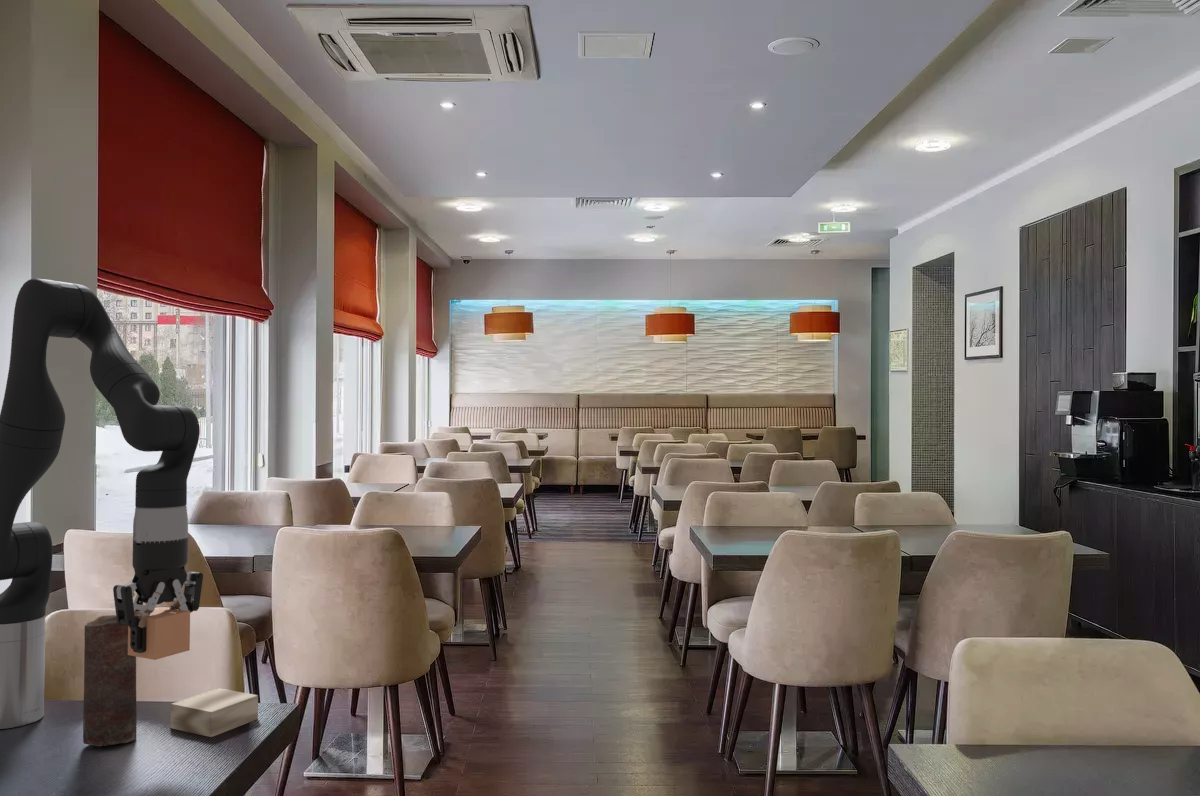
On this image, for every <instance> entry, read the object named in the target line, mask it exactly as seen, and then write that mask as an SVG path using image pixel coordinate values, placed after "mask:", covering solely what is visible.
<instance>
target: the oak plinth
mask: <svg viewBox="0 0 1200 796" xmlns="http://www.w3.org/2000/svg"><path fill="white" fill-rule="evenodd" d="M258 717H259V695H258V694H254V693H253V694H252V693H247V692H243V691H237V690H231V689H225V688H219V687H218V688H213V689H211V690H209V691H205V692H202V693H198V694H196V695H193V696H190V697H187V698H184V699H181V700H178V701H175V702H172V703H171V704H170V729H173V730H175V731H176V730H177V731H181V732H185V733H191V734H195V735H200V736H204V737H208V738H213V737H216V736H218V735H220V734H223V733H226V732H228V731H231V730H233V729H236V728H238V727H241V726H243V725H246V724H249V723H251V722H254V721H256V720H258V719H259V718H258Z"/></svg>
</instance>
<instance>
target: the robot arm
mask: <svg viewBox="0 0 1200 796" xmlns="http://www.w3.org/2000/svg"><path fill="white" fill-rule="evenodd" d="M15 300H16V301H15V305H14V311H13V320H12V333H11V343H10V344H11V346H10V347H11V348H10V356H9V357H10V358H9V367H8V374H7V379H6V384H5V390H4V396H3V399H2V405H1V409H0V581H6V580H11V582H10V585H8V587H7V588H6V589H5V590H4V591H2V592H1V593H0V730H3V729H10V728H11V729H12V728H17V727H22V726H25V725H29V724H31V723H35V722H38V721H39V720H41V719H42V718H43V717H44V715H45V711H44V710H45V672H46V671H45V668H46V667H45V664H46V662H45V661H46V655H45V654H46V609H47V608H46V607H47V604H48V601H49V599H50V594H51V579H52V567H53V556H54V555H53V554H54V553H53V540H52V536H51V534H50V531H49V529H48V528H47V527H46V526H45V525H44V524H42V523H41V522H39V521H38V522H37V521H28V522H17V523H16V522H15V518H16V515H17V512H18V510H19V507H20V505H21V504H22V501H23V500H24V498H25V497H26V496H27V494H28V493H29V492H30V491H31V490H32V488H33V487H34V486H35V485H36V484H37V482H38V481H39V480H40V479H41V478H42V477H43V476H44V475H45V474H46V472H48V470H49V468H50V467H51V466H52V465H53V464H54V462H55V460H57V457H58V456H59V453H60V449H61V446H62V440H63V434H64V430H65V424H66V412H65V409H64V406H63V404H62V401H61V398H60V396H59V394H58V392H57V391H56V389H55V387H54V383H53V382H52V380H51V378H50V375H49V372H48V367H47V349H48V344H49V343H48V342H49V338H50V337H53V338H65V339H73V338H74V339H76V340H79V342H81V343H83V344H84V346H86V347H87V348H88V349H89V350H90V351H91V358H90V363H89V371H90V372H89V373H90V377H91V380H92V382H93V384H94V386H95V388H96V389H97V390H98V391H99V393H100V394H101V395H102V396H103V398H104V399H105V400H106V401H107V403H109V405H110V406H111V407H112V408H113V410H114V413H115V416H116V419H117V423H118V425H119V428H120V431H121V435H122V436H123V438H124V440H125V442H126V443H127V444H128V445H129V446H131V447H132V448H134V449H136V450H138V451H140V452H148V453H151V452H161V453H160V457H159V460H158V462H157V463H156V464H154V465H152V466H148V467H146V468H143V469H141V470H139V471H138V472H137V474H136V477H135V499H134V500H135V509H134V516H133V520H132V521H133V524H132V563H131V564H132V568H133V570H134V574H133V578H132V580H131V582H128V583H125V584H115V585H114V586H113V588H112V591H113V600H114V609H115V615H116V618H117V623H118V624H120V625H127V626H129V627H130V646H131V649H133V651H134V652H137V653H143V652H145V651H146V635H147V627H145V625H146V623H147V618H148V617H149V616H150V614H151V613H152V612H153V611H154V609H156V606H157V605H161V604H162V603H165V604H166V606H168V608H170V609H178V610H186V611H190V614H191V613H193V612H197V611H198V610H199V609H200V603H201V594H202V588H203V581H204V574H203V573H202V572H199V571H189V570H188V571H186V568H185V566H186V565H187V564H188V551H189V550H188V545H189V517H188V516H189V515H188V508H187V507H188V506H187V505H188V504H187V503H188V502H187V496H188V493H187V492H188V491H187V490H188V489H187V488H188V477H189V474H190V471H191V467H192V464H193V460H194V457H195V454H196V451H197V446H198V444H199V440H200V432H201V429H200V428H201V427H200V422H199V419H198V416H197V415H196V413H195V412H194V410H192V409H191V408H190V407H188V406H184V405H167V404H166V405H159V404H158V402H159V401H160V398H161V397H160V395H161V394H160V388H159V387H158V385H157V384H156V382H155V381H154V380H153V379H152V378H151V376H150V375H149V374H148V372H146V370H145V369H144V368H143V367H142V366H141V364H140V363H139V362H138V361H137V360H136V359H135V358H134V356H133V355H132V354H131V352H129V350H128V348H127V347H126V345H125V343H124V342H123V340H122V338H121V336H120V334H119V332H118V330H117V329H116V326H115V325H114V323H113V322H112V320H111V318H110V316H109V314H108V312H107V310H106V308H105V307H104V305H103V303H102V302H101V301H100V298H99V297H98V296H97V295H96V293H95V292H94V291H93V290H92V289H91V288H89V287H88V286H85V285H83V284H78V283H73V282H66V281H60V280H53V279H46V278H45V279H44V278H36V277H35V278H30V279H28V280H27V281H25V282H24V283H23V285H22V286H21V287H20V289H19V291H18V293H17V297H16V299H15ZM157 404H158V405H157ZM14 522H15V523H14ZM183 585H184V587H183ZM182 588H184V589H182ZM135 595H136V596H135ZM134 597H135V598H134ZM143 604H145V605H143ZM138 616H140V617H139V619H138Z"/></svg>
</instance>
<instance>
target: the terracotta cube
mask: <svg viewBox="0 0 1200 796" xmlns="http://www.w3.org/2000/svg"><path fill="white" fill-rule="evenodd" d="M139 617H140V616H138V619H139ZM145 627H147V635H146V651H145V652H143V653H137V652H134V651H133V649H131V646H130V627H129V626H128V655H131V656H136V658H142V659H148V660H153V661H157V660H160V659H163V658H166V657H167V658H168V657H170V656H175V655H178V654H181V653H185V652H187V651H190V650H191V649H190V647H191V646H190V643H191V640H190V638H191V613H190V611H186V610H178V609H170V608H169V607H165V606H162V607H158V608H155V609H154V611H153V612H152V613H151V614H150V616H149V617H148V618H147V623H146V625H145Z"/></svg>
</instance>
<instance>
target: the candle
mask: <svg viewBox="0 0 1200 796" xmlns="http://www.w3.org/2000/svg"><path fill="white" fill-rule="evenodd" d="M83 635H84V649H83V650H84V653H83V654H84V655H83V656H84V657H83V658H84V661H83V662H84V663H83V664H84V665H83V668H84V669H83V671H84V673H83V711H82V712H83V716H82V718H83V723H82V724H83V725H82V742H83V745H90V746H96V747H108V746H114V745H117V744H128V743H131V742H135V741H136V740H137V721H138V720H137V718H138V717H137V714H138V713H137V710H138V709H137V708H138V707H137V657H136V656H131V655H128V626H127V625H120V624H118V623H117V618H116V614H115V615H114V614H112V615H111V614H110V615H109V614H108V615H101V616H98V617H96V618H95V619H94V620H91V621H89V622H88V623H86V624H85V625H84V634H83Z"/></svg>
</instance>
